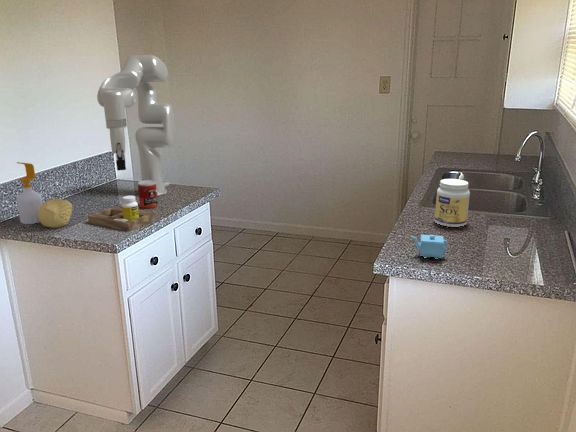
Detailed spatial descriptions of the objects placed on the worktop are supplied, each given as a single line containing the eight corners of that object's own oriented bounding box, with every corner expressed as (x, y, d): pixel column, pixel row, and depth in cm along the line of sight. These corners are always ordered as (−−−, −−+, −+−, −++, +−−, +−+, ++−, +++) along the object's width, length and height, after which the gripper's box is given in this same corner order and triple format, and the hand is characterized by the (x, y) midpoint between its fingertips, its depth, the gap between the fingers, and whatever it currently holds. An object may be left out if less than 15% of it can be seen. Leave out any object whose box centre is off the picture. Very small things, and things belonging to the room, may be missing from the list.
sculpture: (58, 231, 203) (54, 204, 199) (33, 228, 207) (29, 201, 203) (79, 222, 213) (75, 196, 209) (55, 219, 217) (51, 194, 213)
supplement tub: (432, 226, 204) (435, 184, 198) (436, 217, 214) (439, 176, 209) (465, 230, 199) (470, 187, 194) (467, 220, 210) (472, 179, 205)
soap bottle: (15, 223, 212) (4, 163, 205) (33, 216, 220) (23, 158, 213) (33, 225, 209) (22, 164, 202) (50, 218, 217) (40, 160, 210)
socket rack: (115, 213, 224) (114, 205, 223) (154, 220, 214) (153, 213, 213) (88, 222, 212) (87, 214, 211) (129, 231, 202) (128, 223, 201)
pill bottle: (135, 226, 207) (132, 199, 204) (120, 225, 208) (117, 198, 205) (142, 221, 213) (139, 195, 209) (128, 220, 214) (125, 194, 211)
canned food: (145, 210, 227) (142, 185, 224) (136, 206, 233) (134, 182, 230) (161, 206, 232) (159, 182, 229) (152, 202, 238) (150, 179, 234)
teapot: (409, 258, 174) (410, 237, 172) (409, 251, 180) (410, 230, 178) (447, 261, 172) (449, 239, 169) (446, 254, 177) (448, 233, 175)
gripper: (106, 120, 209) (111, 162, 215) (105, 127, 194) (111, 173, 199) (126, 119, 211) (130, 161, 217) (126, 126, 196) (132, 171, 201)
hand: (121, 167), depth 208 cm, fingers open, 9 cm apart
